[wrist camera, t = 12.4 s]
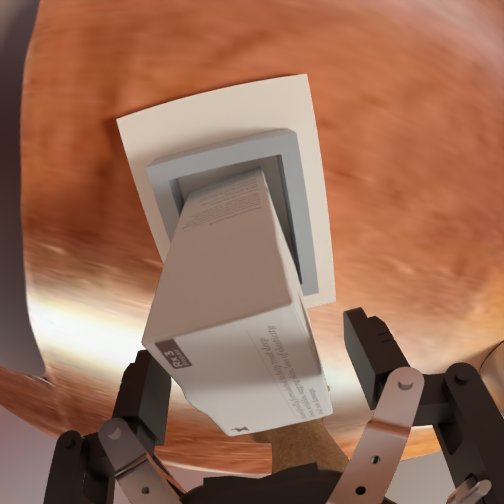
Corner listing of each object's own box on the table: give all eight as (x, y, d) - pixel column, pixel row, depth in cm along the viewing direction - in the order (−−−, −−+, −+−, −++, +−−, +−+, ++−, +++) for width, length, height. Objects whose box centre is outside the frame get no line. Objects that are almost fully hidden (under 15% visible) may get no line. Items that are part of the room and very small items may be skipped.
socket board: (333, 295, 30) (345, 321, 27) (191, 325, 30) (188, 354, 27) (303, 74, 21) (318, 70, 17) (120, 118, 21) (101, 123, 18)
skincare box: (292, 252, 26) (343, 415, 14) (223, 275, 27) (229, 443, 15) (258, 158, 22) (308, 304, 9) (179, 188, 22) (134, 354, 10)
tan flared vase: (325, 428, 42) (346, 513, 29) (246, 435, 41) (254, 526, 28) (348, 363, 35) (388, 472, 22) (248, 371, 34) (260, 494, 21)
